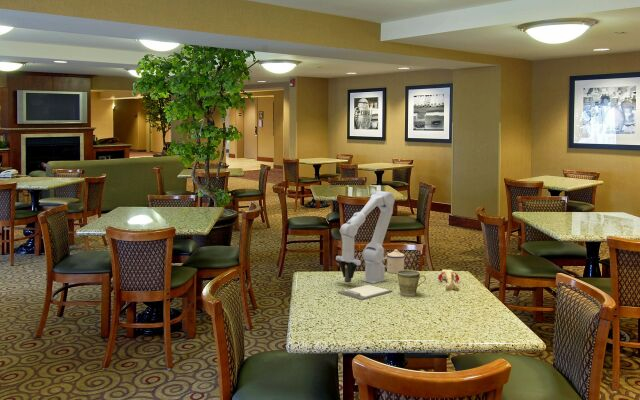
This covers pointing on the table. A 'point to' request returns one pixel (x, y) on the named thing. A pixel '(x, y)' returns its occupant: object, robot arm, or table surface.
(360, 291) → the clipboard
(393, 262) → the teacup with lid
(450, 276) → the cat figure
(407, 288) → the ceramic cup
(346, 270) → the marker
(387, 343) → the table surface
